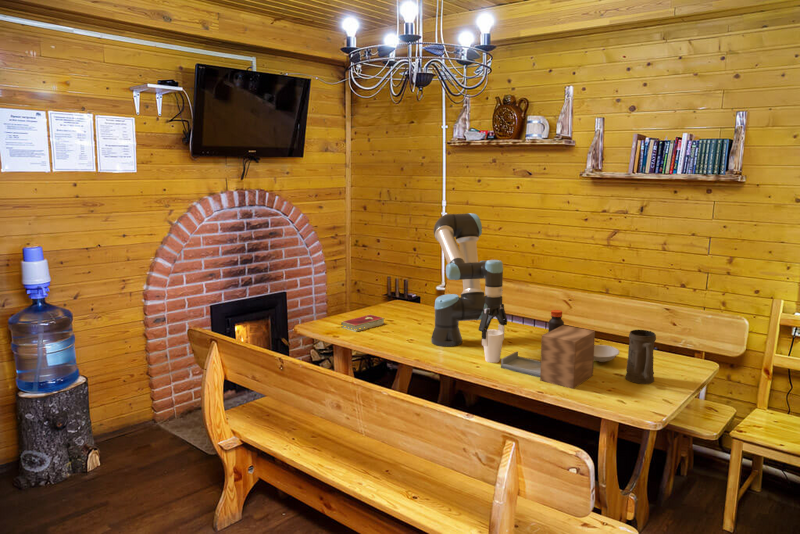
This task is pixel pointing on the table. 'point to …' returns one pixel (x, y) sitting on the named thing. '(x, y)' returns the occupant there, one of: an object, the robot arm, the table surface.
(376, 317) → the hardcover book
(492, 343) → the foam cup
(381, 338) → the table surface
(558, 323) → the bottle
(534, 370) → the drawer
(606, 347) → the dish
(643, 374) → the beer stein
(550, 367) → the wood grain box
